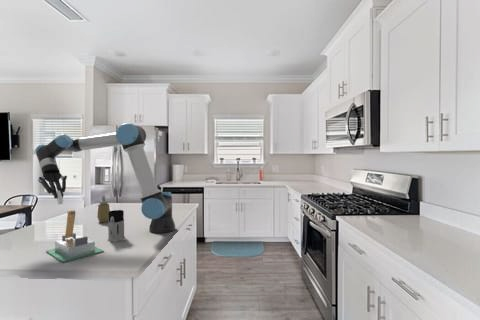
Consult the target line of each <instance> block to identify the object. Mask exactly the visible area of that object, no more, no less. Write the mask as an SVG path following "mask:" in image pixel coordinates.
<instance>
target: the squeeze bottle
mask: <svg viewBox="0 0 480 320" xmlns="http://www.w3.org/2000/svg"><path fill="white" fill-rule="evenodd" d="M109 211H111V209H110V204H109V203H108V200H106V196H105V195H102V198H101V200H100V201H99V204H98V206H97V217H96V218H97V219H98V222H99V223H108V220H109V215H108V212H109Z"/></svg>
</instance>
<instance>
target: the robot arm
mask: <svg viewBox="0 0 480 320" xmlns="http://www.w3.org/2000/svg"><path fill="white" fill-rule="evenodd" d="M146 139H147V132H146V131H145V129H144V128H143V127H141V126H140V125H135V124H133V123H132V122H131V123H128V122H127V123H122V124H120V125H119V126H118V127H117V128H116V130H115V132H112V133H106V134H100V135H99V134H98V135H93V136H86V137H78V138H71V137H70V136H69V135H68V134H65V133H61V134H59V135H58V136H56V137H55V138H54V139H52V141H50V142H49V143H44V144H43V143H42V144H41V145H40V144H39V145H38V146H37V147H36V148H35V154H36V158H37V159H38V163H39V166H40V170H41V172H42V173H41V174H42V176H39V177H38V180H37V181H38V182H39V183H40V184H41V185H42V186H43V187H44V189H45V190H46V192H47V193H48V194H51V195H52V196H53V198H54V199H56V201H57V204H58V205H62V204H64V203H63V202H64V199H63V198H64V193H65V192H66V189H67V186H66V185H67V184H66V183H67V178H68V176H67V175H62V173H61V172H60V168H59V167H58V163H57V160H56V157H58V156H59V155H60V154H62V153H63V152H74V153H76V152H77V153H79V152H82V151H88V150H93V149H94V150H95V149H102V148H111V147H116V146H117V147H118V146H121V147H122V149H123V152H125V153H127V154H128V157H129V160H130V164H131V166H132V169H133V171H134V175H135V177H136V180H137V184H138V185H139V186H138V187H139V189H140V191H141V196H140V201H141V208H140V210H141V213H142V215H143V216H144V217H145V218H147V219H149V220H151V221H150V225H149V228H148V229H149V230H148V231H149V232H150V233H151V234H166V233H170V232H174V231H175V230H176V224H175V221H174V219H173V193H172V192H170V191H162V190H161V189H159V188H158V186H157V183H156V181H155V178H154V175H153V171H152V168H151V166H150V164H149V160H148V157H147V154H146V151H145V146H146V144H145V141H146ZM60 180H61V182H60Z"/></svg>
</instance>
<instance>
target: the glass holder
mask: <svg viewBox="0 0 480 320" xmlns="http://www.w3.org/2000/svg"><path fill="white" fill-rule="evenodd" d="M108 215H109V220H108V222H107V223H108V225H107V228H108V233H107V234H108V237H107V241H108V242H119V241H124V240H126V237H125V219H124V217H125V216H124V215H125V212H124V210H121V209H117V210H116V209H114V210H110V211H109V212H108Z"/></svg>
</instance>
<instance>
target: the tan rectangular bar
mask: <svg viewBox="0 0 480 320" xmlns="http://www.w3.org/2000/svg"><path fill="white" fill-rule="evenodd" d="M66 213H67V217H66V218H67V219H66V225H65V226H66V227H65V234H64V235H65V239H66V238H71V237H73V233H74V226H75V219H76V213H77V212H76V211H75V210H67V212H66Z"/></svg>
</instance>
